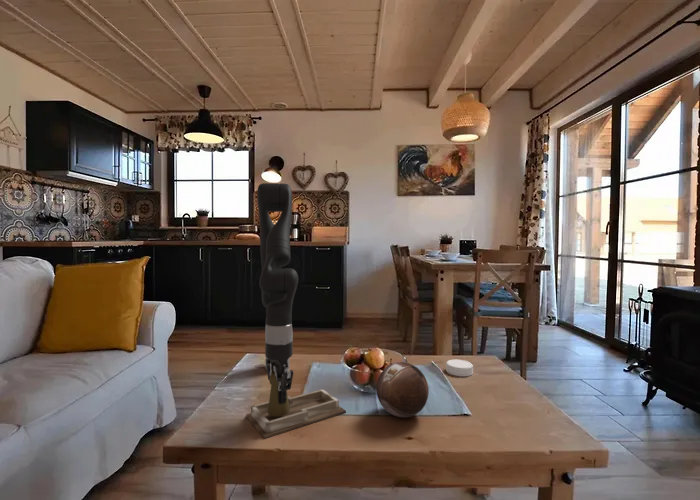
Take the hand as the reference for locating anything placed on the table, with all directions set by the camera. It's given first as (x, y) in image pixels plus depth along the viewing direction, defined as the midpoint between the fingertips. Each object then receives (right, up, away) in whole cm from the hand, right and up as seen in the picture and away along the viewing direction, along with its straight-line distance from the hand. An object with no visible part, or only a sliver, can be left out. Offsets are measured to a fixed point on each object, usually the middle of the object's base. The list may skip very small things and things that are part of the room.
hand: (278, 399), depth 102 cm
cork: (0, -3, 0) cm, 3 cm away
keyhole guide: (+5, -6, +4) cm, 8 cm away
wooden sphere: (+35, -6, +4) cm, 36 cm away
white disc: (+62, -5, +38) cm, 73 cm away
